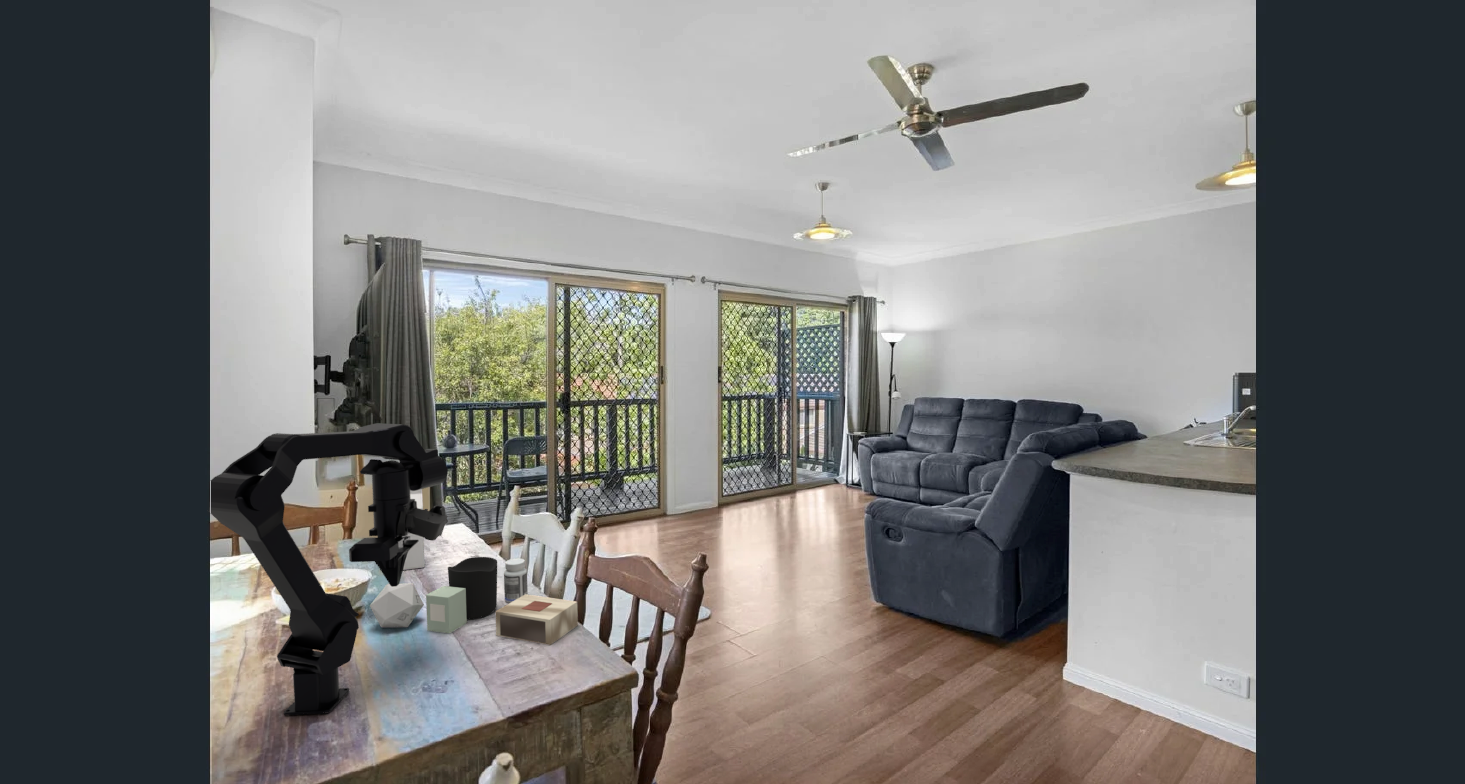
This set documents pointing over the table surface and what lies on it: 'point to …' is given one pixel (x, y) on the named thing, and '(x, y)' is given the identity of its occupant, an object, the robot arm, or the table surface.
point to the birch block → (536, 619)
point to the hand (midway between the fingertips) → (395, 585)
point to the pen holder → (476, 584)
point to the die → (397, 605)
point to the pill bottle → (515, 579)
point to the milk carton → (417, 551)
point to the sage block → (446, 609)
